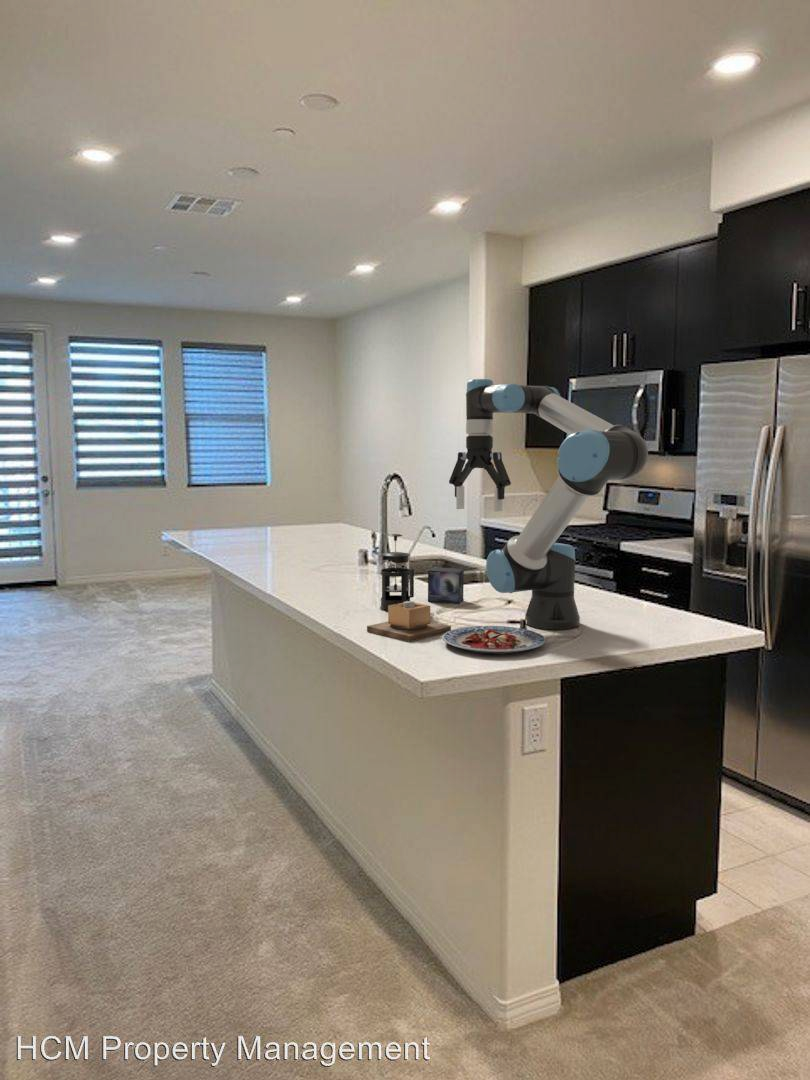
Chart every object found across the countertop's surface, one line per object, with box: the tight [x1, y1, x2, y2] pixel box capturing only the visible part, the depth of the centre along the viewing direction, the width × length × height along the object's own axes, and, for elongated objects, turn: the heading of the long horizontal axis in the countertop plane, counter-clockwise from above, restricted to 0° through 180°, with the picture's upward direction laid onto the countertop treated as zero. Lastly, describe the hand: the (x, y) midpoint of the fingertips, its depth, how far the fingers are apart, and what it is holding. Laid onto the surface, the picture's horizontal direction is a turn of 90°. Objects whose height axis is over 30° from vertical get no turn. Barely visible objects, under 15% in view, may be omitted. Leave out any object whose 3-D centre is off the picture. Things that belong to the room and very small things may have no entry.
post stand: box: [366, 600, 452, 643], centre depth 216 cm, size 16×16×8 cm
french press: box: [379, 533, 415, 612], centre depth 246 cm, size 12×9×23 cm
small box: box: [427, 566, 465, 605], centre depth 258 cm, size 11×6×10 cm, turn 71°
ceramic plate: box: [442, 625, 546, 655], centre depth 203 cm, size 26×26×3 cm
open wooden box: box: [387, 602, 431, 629], centre depth 216 cm, size 8×8×5 cm
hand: (478, 510), depth 230 cm, fingers open, 13 cm apart
